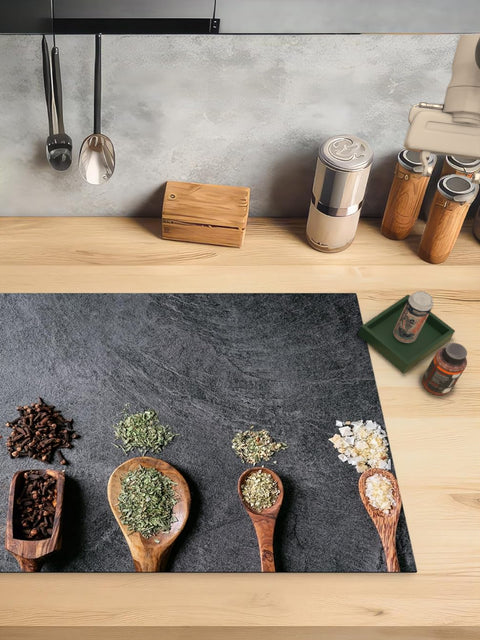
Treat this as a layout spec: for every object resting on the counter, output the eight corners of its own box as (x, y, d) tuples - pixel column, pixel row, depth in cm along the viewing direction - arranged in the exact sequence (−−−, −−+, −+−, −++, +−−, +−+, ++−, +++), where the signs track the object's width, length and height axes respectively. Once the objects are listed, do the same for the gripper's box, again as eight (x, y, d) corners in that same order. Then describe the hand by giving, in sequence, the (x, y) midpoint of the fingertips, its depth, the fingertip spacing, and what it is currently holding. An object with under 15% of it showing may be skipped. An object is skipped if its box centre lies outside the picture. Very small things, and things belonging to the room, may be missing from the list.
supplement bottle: (452, 398, 146) (474, 365, 137) (422, 394, 147) (441, 361, 138) (450, 374, 150) (471, 340, 141) (420, 370, 151) (439, 336, 141)
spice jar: (389, 337, 155) (406, 300, 145) (397, 323, 157) (415, 285, 147) (410, 348, 153) (429, 311, 143) (419, 333, 155) (438, 296, 146)
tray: (403, 303, 161) (408, 294, 159) (450, 339, 155) (455, 330, 153) (357, 334, 156) (361, 325, 154) (403, 373, 150) (408, 364, 148)
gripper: (415, 97, 140) (399, 170, 143) (528, 111, 137) (510, 185, 140) (408, 103, 147) (393, 174, 149) (516, 117, 143) (499, 188, 146)
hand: (450, 179), depth 144 cm, fingers open, 8 cm apart
